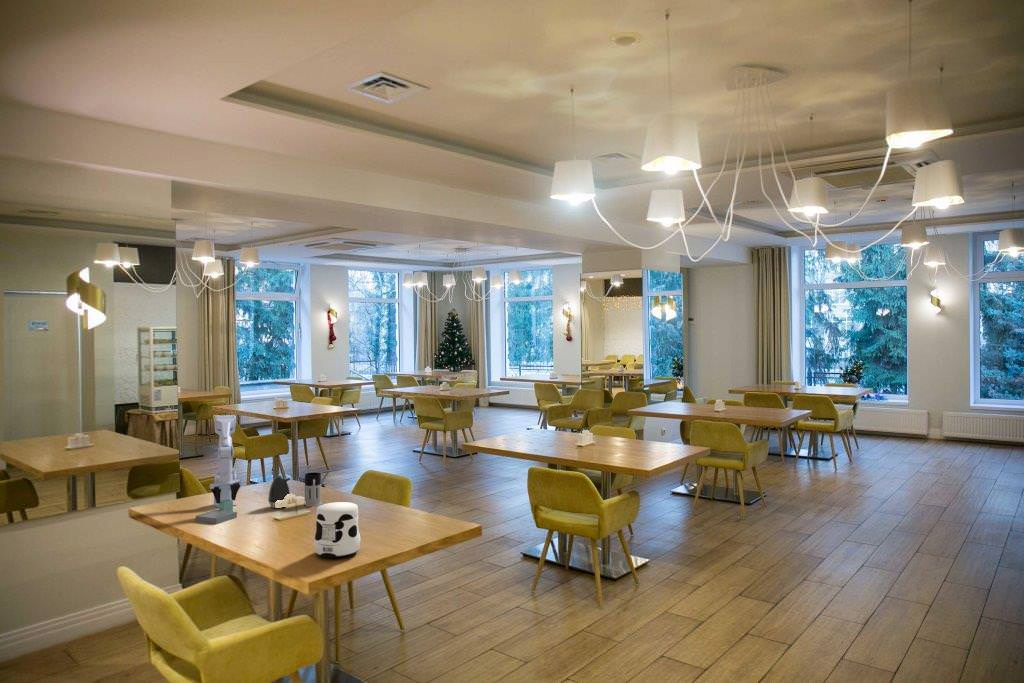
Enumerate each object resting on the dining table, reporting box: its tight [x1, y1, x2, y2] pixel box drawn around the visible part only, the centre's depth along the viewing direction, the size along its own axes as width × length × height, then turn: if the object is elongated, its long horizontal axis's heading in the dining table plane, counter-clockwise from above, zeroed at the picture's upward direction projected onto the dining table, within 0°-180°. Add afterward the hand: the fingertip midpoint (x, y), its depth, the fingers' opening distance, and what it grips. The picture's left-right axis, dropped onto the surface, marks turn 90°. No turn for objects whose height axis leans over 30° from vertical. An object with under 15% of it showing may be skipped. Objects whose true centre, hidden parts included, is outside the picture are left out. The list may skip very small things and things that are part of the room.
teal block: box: [218, 499, 234, 512], centre depth 319 cm, size 4×4×6 cm
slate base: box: [195, 509, 238, 525], centre depth 309 cm, size 12×12×2 cm
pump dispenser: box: [268, 475, 291, 509], centre depth 331 cm, size 10×10×15 cm
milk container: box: [313, 501, 362, 559], centre depth 261 cm, size 17×17×18 cm
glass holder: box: [304, 471, 323, 508], centre depth 334 cm, size 9×14×15 cm, turn 20°
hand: (225, 501), depth 319 cm, fingers open, 7 cm apart
